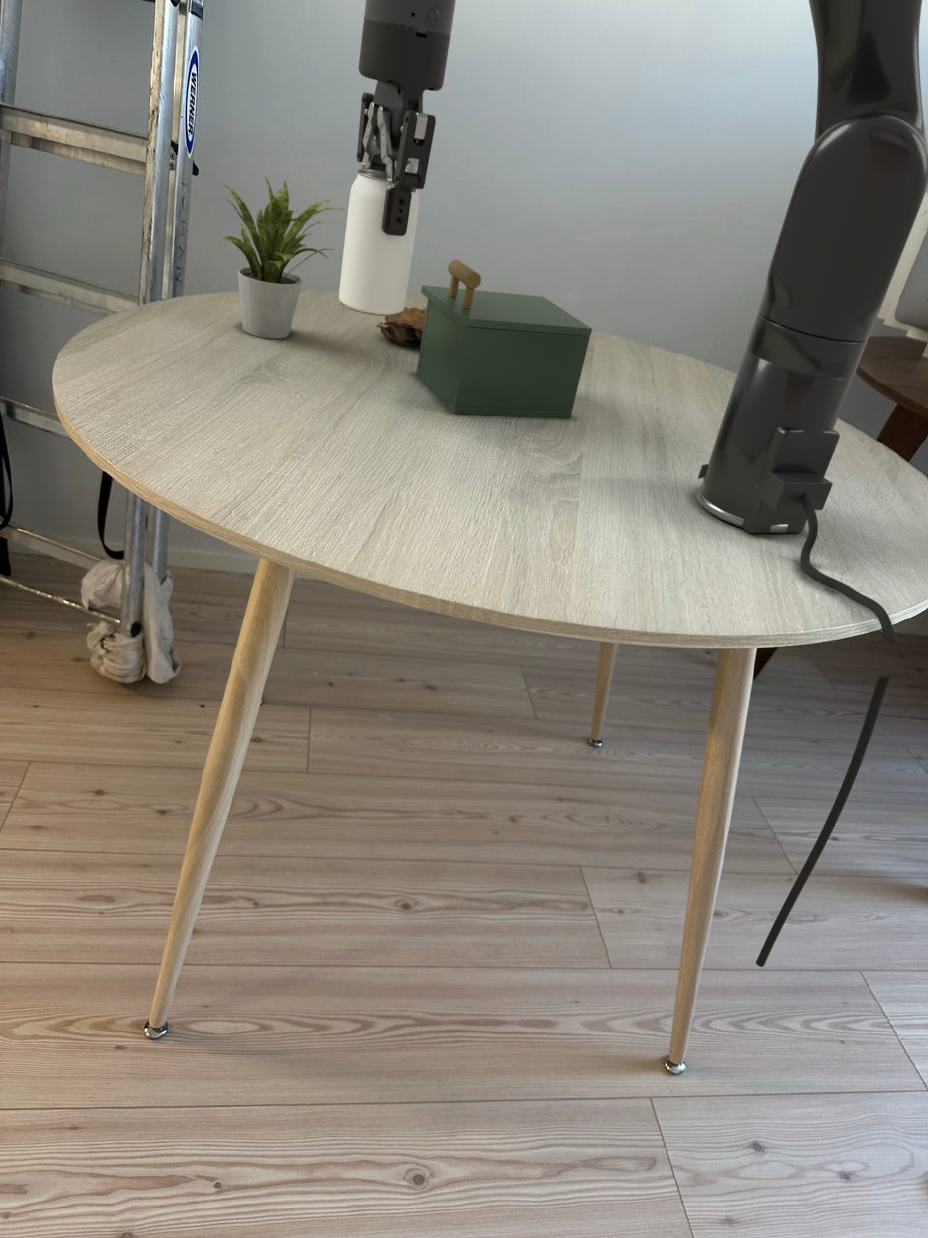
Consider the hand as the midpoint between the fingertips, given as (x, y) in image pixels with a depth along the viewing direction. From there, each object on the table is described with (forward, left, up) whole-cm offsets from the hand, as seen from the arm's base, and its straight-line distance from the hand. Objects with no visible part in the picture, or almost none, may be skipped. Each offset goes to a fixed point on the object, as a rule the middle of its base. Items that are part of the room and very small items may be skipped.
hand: (381, 224), depth 93 cm
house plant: (+17, +5, -16) cm, 24 cm away
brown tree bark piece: (+18, -15, -16) cm, 29 cm away
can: (0, 0, -8) cm, 8 cm away
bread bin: (0, -15, -16) cm, 22 cm away
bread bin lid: (0, -14, -7) cm, 16 cm away
